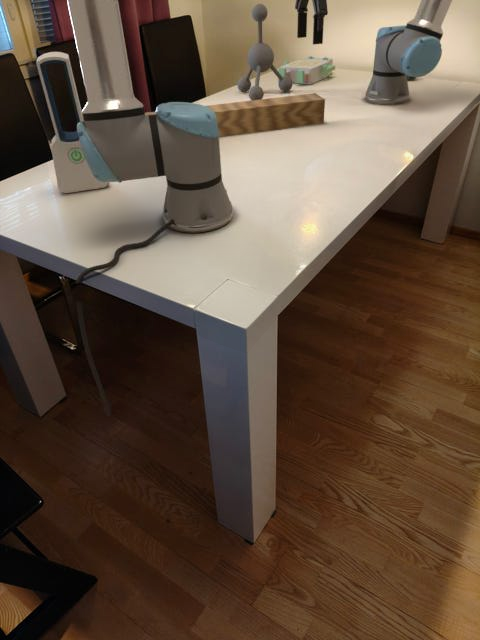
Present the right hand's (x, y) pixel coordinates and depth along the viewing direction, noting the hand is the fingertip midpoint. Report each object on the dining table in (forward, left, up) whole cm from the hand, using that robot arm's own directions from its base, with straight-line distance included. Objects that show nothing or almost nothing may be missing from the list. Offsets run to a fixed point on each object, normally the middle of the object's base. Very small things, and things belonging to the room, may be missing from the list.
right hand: (309, 40), depth 145 cm
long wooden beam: (+14, -25, -23) cm, 37 cm away
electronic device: (+62, -47, -23) cm, 81 cm away
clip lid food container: (-61, -11, -23) cm, 66 cm away
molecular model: (-32, -21, -23) cm, 45 cm away
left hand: (+29, -50, 0) cm, 57 cm away
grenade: (-61, +32, -23) cm, 72 cm away
